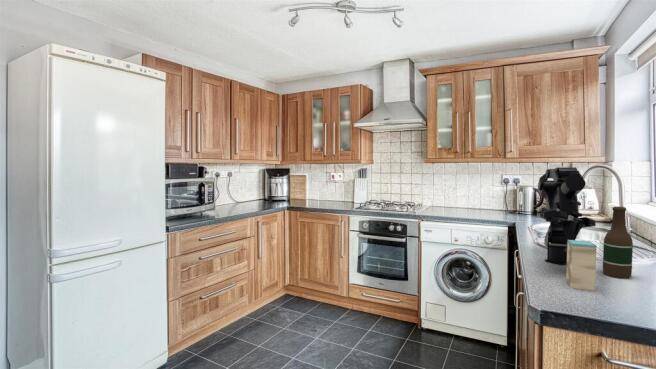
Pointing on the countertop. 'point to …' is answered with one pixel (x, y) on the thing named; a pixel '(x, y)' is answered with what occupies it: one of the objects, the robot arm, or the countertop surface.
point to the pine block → (581, 264)
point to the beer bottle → (618, 247)
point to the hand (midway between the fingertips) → (571, 242)
